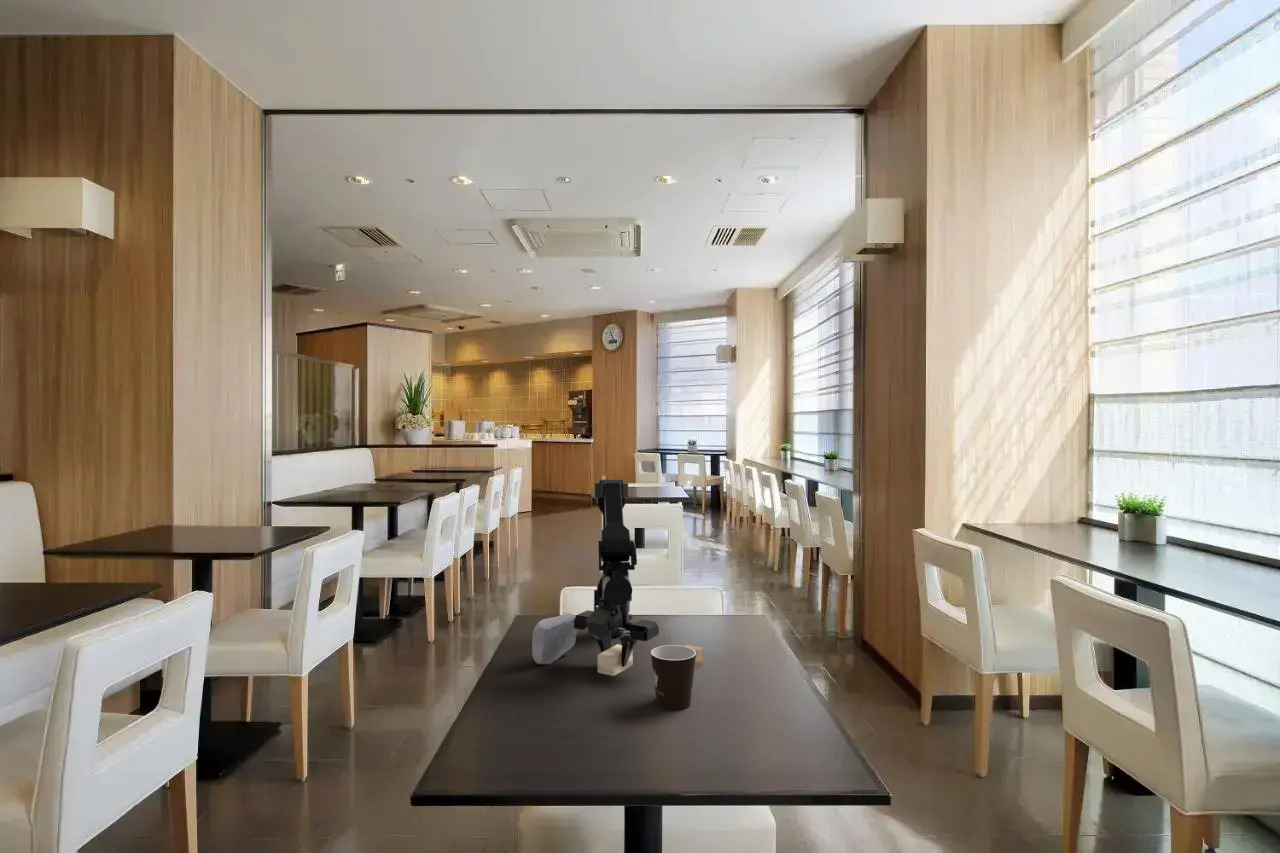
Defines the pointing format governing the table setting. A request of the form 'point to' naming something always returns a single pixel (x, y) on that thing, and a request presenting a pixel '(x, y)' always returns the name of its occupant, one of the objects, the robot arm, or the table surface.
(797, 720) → the table surface
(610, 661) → the ash brick
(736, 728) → the table surface
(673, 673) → the coffee mug
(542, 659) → the stone block
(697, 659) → the brick
